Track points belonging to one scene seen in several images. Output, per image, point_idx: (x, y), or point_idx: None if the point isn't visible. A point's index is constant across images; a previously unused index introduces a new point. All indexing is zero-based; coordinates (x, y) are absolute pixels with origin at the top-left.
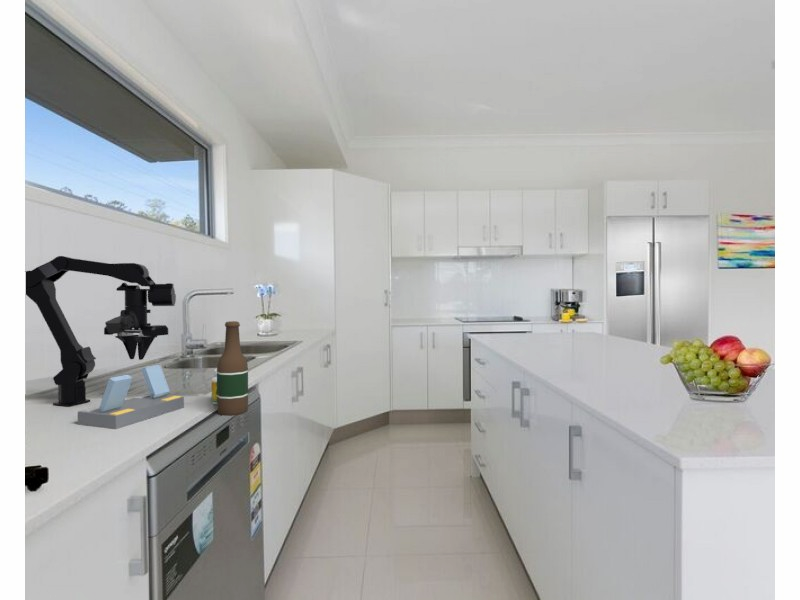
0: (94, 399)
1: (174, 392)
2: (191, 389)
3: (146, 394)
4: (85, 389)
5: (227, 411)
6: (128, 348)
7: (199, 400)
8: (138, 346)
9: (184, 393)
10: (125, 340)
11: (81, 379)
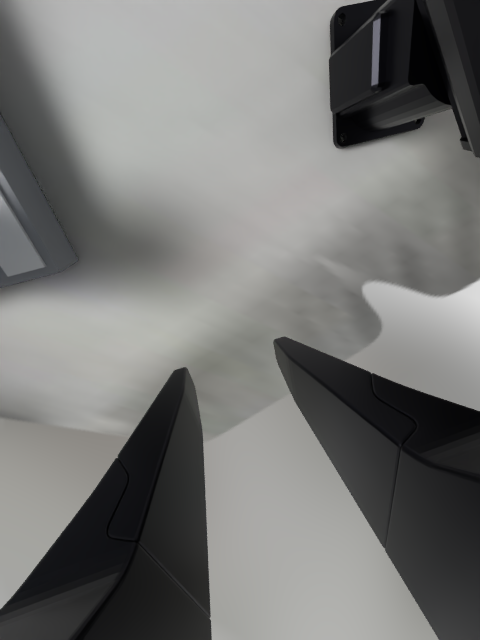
0: (357, 184)
1: (215, 391)
2: (212, 432)
3: (29, 247)
4: (363, 92)
5: None
6: (327, 387)
7: (11, 392)
8: (139, 479)
9: None
10: (451, 472)
11: (446, 75)
